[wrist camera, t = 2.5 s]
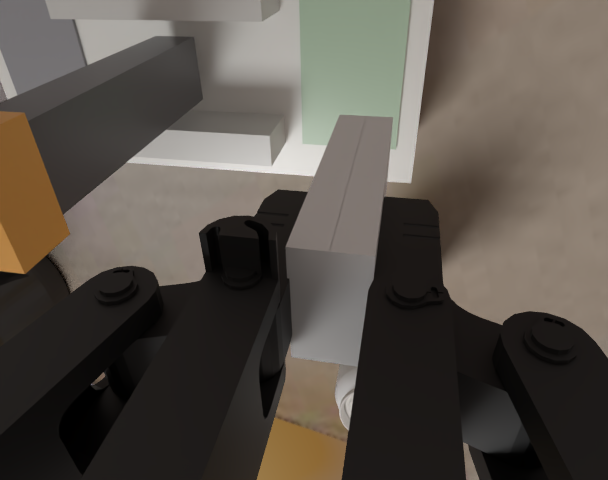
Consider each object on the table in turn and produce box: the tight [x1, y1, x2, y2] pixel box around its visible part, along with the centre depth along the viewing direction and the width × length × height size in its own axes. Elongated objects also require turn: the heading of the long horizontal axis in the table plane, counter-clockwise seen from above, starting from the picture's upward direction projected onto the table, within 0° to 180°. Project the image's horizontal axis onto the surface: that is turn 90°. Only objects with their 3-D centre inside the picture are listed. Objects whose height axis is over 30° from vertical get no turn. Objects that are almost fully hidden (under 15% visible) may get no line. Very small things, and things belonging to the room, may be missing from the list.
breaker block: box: [0, 0, 434, 183], centre depth 25 cm, size 24×12×10 cm, turn 91°
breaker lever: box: [0, 36, 203, 274], centre depth 17 cm, size 3×4×14 cm
